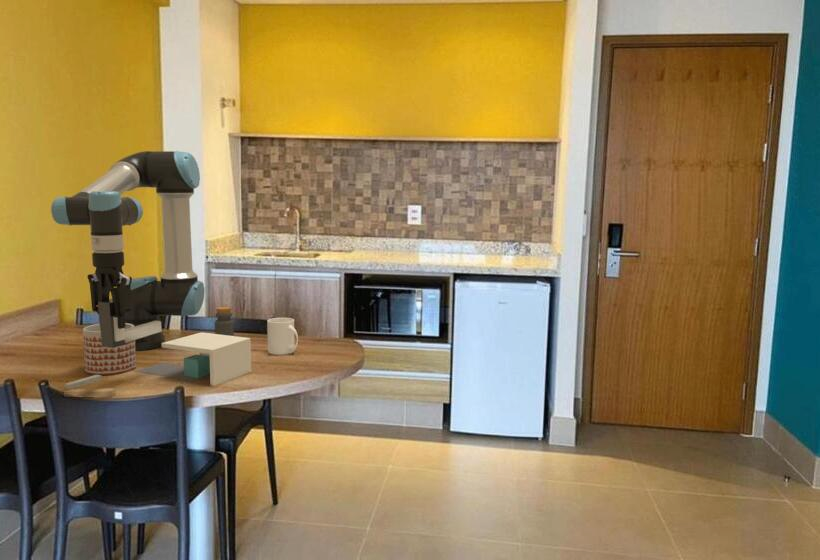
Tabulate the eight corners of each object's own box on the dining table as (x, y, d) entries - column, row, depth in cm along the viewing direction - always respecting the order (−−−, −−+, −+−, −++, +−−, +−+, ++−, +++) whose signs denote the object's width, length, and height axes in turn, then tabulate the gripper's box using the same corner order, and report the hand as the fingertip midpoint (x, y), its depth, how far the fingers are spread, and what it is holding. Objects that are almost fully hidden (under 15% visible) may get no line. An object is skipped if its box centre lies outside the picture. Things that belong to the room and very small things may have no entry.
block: (184, 375, 186) (183, 358, 186) (196, 371, 191) (196, 354, 190) (198, 377, 184) (197, 360, 184) (210, 373, 189) (209, 356, 188)
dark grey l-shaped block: (101, 346, 173) (97, 301, 171) (153, 330, 190) (150, 289, 187) (113, 347, 172) (109, 302, 170) (164, 331, 188) (161, 290, 186)
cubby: (162, 378, 184) (161, 343, 183) (202, 365, 199) (201, 332, 197) (214, 387, 177) (212, 349, 176) (251, 372, 192) (250, 338, 190)
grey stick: (65, 389, 175) (64, 384, 175) (96, 380, 184) (96, 374, 184) (70, 390, 174) (69, 384, 174) (101, 381, 183) (101, 375, 183)
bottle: (238, 352, 215) (236, 307, 213) (226, 356, 210) (224, 309, 208) (223, 350, 218) (222, 305, 216) (211, 354, 213) (210, 308, 211)
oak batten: (63, 399, 167) (62, 391, 166) (67, 396, 169) (66, 388, 169) (111, 399, 167) (111, 391, 167) (115, 396, 170) (115, 388, 170)
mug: (288, 358, 208) (287, 325, 207) (262, 352, 215) (261, 320, 214) (307, 353, 215) (307, 320, 214) (281, 347, 222) (281, 316, 221)
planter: (103, 378, 184) (101, 333, 183) (75, 371, 192) (72, 328, 190) (146, 367, 196) (144, 325, 194) (117, 361, 203) (115, 320, 201)
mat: (133, 372, 190) (133, 371, 190) (162, 364, 200) (162, 362, 200) (193, 382, 181) (193, 381, 181) (220, 372, 191) (220, 371, 191)
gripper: (71, 250, 171) (78, 338, 174) (120, 254, 164) (125, 346, 167) (96, 248, 177) (101, 332, 181) (143, 251, 171) (148, 339, 174)
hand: (113, 339), depth 174 cm, fingers closed on dark grey l-shaped block, 4 cm apart
